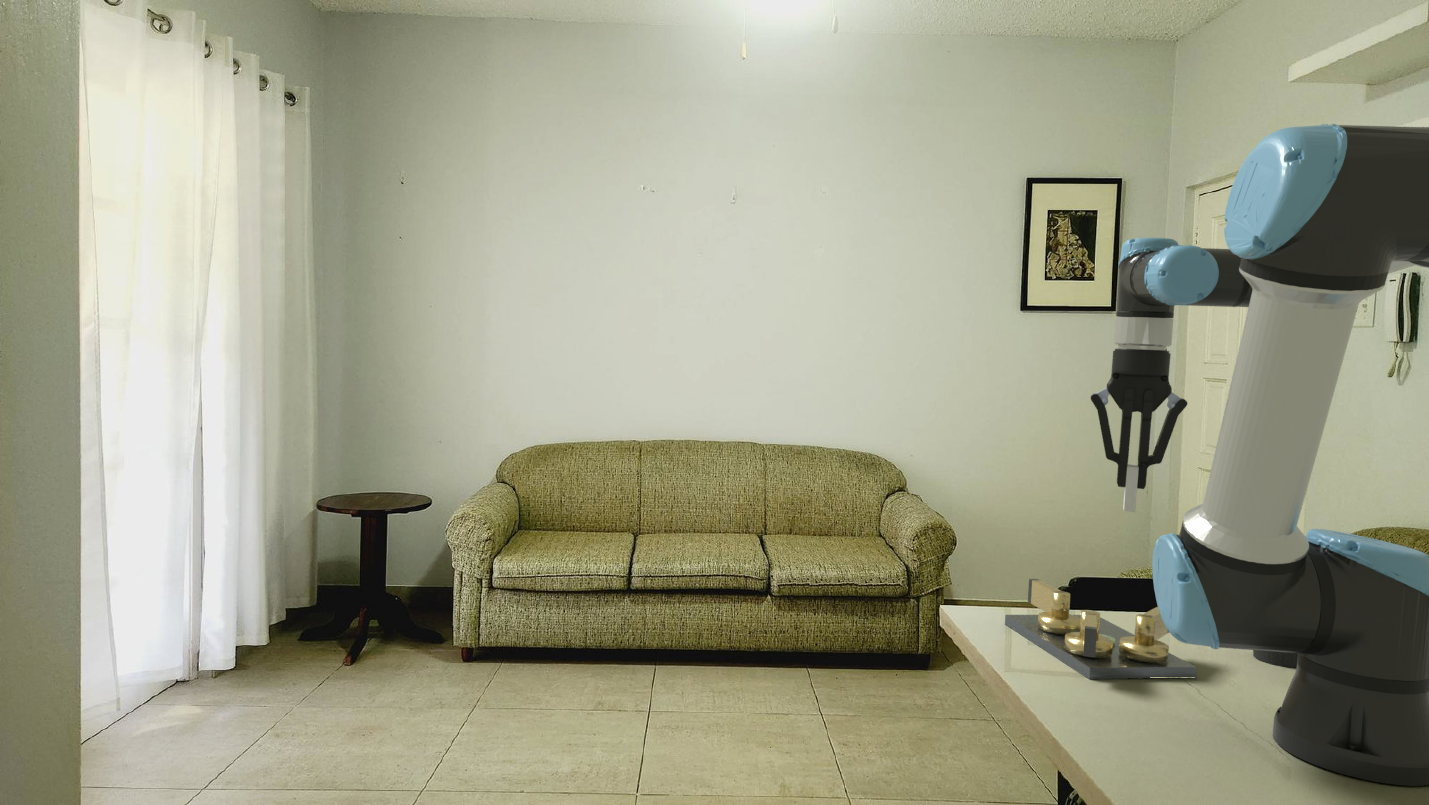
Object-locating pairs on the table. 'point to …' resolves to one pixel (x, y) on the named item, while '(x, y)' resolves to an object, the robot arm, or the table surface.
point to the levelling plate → (1099, 667)
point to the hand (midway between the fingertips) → (1129, 509)
